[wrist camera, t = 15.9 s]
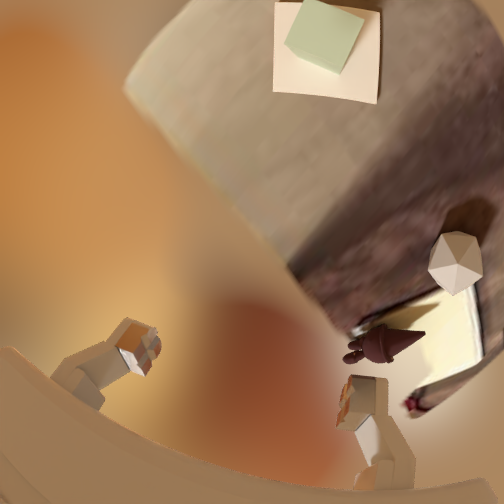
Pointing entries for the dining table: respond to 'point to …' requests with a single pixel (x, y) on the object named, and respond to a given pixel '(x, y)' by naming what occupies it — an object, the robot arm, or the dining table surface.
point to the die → (455, 261)
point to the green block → (323, 35)
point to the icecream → (381, 344)
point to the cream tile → (322, 80)
